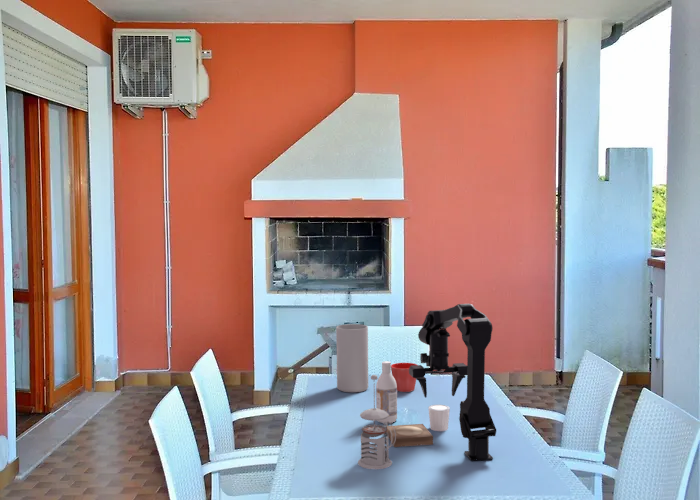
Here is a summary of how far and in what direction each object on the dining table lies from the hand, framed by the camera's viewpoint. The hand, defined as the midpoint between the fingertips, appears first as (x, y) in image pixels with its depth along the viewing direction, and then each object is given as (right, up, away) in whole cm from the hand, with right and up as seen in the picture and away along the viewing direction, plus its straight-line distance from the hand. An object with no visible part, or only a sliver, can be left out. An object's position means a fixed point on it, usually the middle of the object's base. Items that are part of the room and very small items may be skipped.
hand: (439, 396), depth 214 cm
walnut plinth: (-11, -11, -9) cm, 18 cm away
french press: (-21, -13, -28) cm, 38 cm away
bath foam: (-16, -10, +9) cm, 22 cm away
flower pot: (-7, -8, +48) cm, 49 cm away
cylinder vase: (-28, -8, +50) cm, 58 cm away
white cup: (0, -11, +1) cm, 11 cm away
